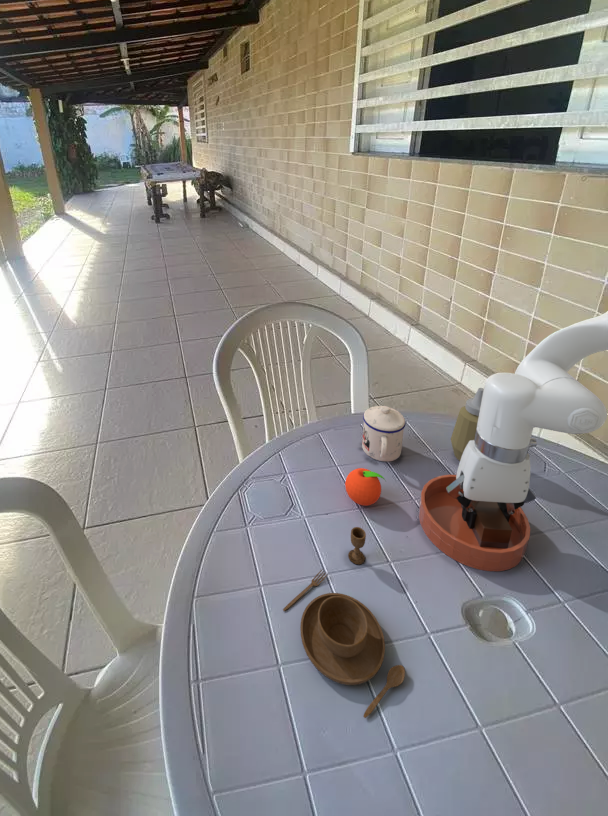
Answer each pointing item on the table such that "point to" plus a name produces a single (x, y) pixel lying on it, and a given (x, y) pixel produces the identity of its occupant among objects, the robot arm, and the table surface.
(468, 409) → the squeeze bottle
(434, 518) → the bowl
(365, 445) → the teacup with lid
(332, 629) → the place setting
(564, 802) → the table surface
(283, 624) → the table surface
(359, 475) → the clementine
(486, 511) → the eraser
